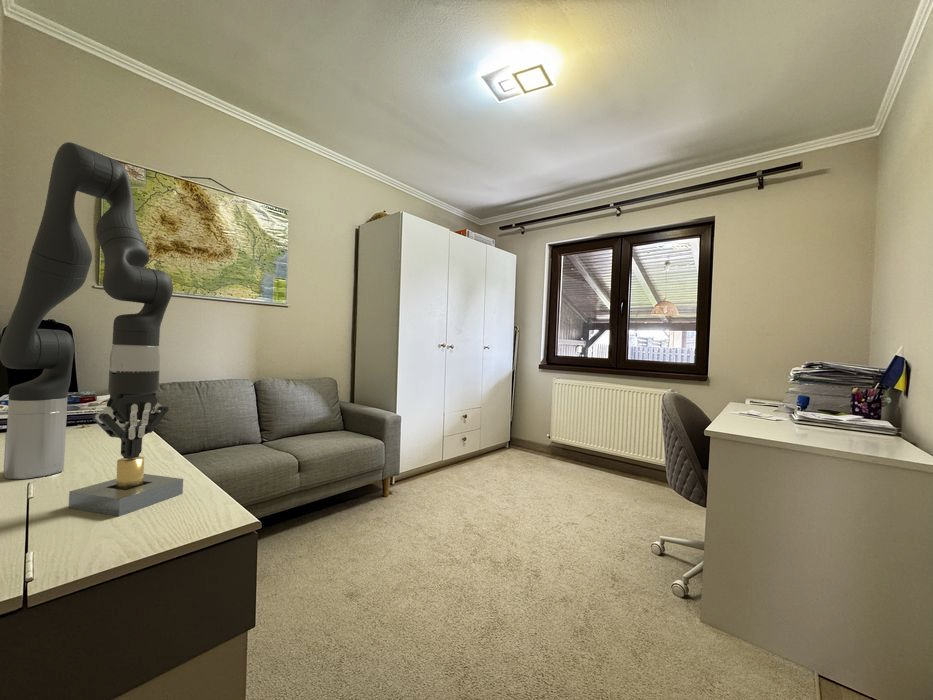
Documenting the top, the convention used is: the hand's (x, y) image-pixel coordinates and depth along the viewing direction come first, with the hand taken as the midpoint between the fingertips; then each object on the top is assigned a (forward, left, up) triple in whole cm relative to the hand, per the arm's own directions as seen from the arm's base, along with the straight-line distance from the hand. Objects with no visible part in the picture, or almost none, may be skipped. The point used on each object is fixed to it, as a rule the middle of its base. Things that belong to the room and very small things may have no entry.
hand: (130, 457), depth 77 cm
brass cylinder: (0, 0, -8) cm, 8 cm away
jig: (0, 0, -8) cm, 8 cm away
